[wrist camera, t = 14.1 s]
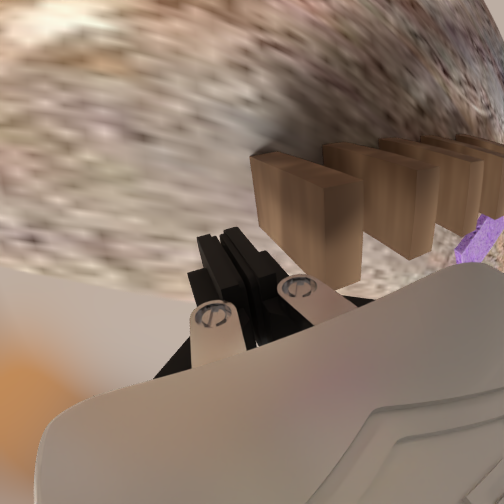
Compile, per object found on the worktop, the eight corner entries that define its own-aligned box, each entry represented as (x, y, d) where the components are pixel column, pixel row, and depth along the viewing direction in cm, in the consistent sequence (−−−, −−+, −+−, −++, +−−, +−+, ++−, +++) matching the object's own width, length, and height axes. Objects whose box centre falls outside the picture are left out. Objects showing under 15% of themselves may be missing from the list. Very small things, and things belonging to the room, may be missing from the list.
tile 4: (344, 141, 20) (440, 166, 13) (347, 203, 23) (431, 250, 15) (322, 144, 20) (416, 170, 12) (326, 209, 22) (409, 260, 15)
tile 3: (395, 137, 22) (484, 160, 14) (395, 192, 24) (475, 230, 16) (378, 138, 21) (470, 162, 13) (379, 196, 24) (461, 236, 16)
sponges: (451, 248, 32) (461, 254, 30) (493, 189, 31) (503, 194, 30) (456, 278, 35) (465, 284, 34) (496, 223, 35) (505, 227, 33)
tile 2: (432, 135, 23) (511, 156, 15) (431, 184, 25) (504, 215, 18) (420, 135, 22) (502, 157, 15) (419, 186, 25) (495, 220, 17)
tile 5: (277, 151, 19) (363, 180, 11) (285, 219, 22) (360, 280, 14) (249, 156, 19) (323, 188, 11) (259, 226, 21) (325, 294, 13)
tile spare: (464, 134, 24) (532, 154, 17) (462, 176, 27) (526, 202, 19) (455, 134, 24) (526, 154, 16) (454, 178, 26) (520, 206, 19)
